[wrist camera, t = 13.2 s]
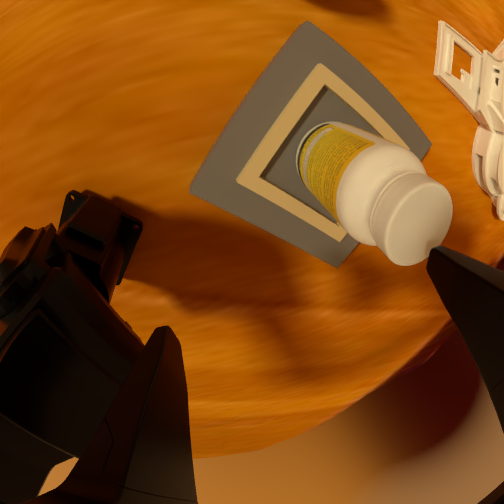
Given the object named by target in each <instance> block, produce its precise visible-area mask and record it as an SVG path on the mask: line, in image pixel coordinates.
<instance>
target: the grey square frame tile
mask: <svg viewBox="0 0 504 504" xmlns="http://www.w3.org/2000/svg"><path fill="white" fill-rule="evenodd" d="M331 121H334V122H342V123H345V124H348V125H351V126H354V127H357V128H359V129H362V130H364V131H367V132H370V133H372V134H375V135H377V136H380V137H382V138H384V139H387V140H389V141H391V142H394V143H396V144H398V145H401V146H403V147H404V148H406V149H408V150H410V151H411V152H412V153H414V154H415V155H416V156H417V158H418V159H419V160H420V161H421V160H422V158H423V157H424V155H425V154H426V152H427V151H428V149H429V148H430V146H431V145H432V143H431V142H430V141H429V139H428V138H427V137H426V135H425V134H424V133H423V131H422V130H421V129H420V127H419V126H418V125H417V124H416V122H415V121H414V120H413V119H412V117H411V116H410V115H409V114H408V112H407V111H406V110H405V109H404V108H403V107H402V105H401V104H400V103H399V102H398V101H397V100H396V99H395V98H394V96H393V95H392V94H391V93H390V92H389V91H388V90H387V89H386V88H385V87H384V86H383V85H382V84H381V83H380V82H379V81H378V80H377V79H376V78H375V77H374V76H373V75H372V74H371V73H370V72H369V71H368V70H367V69H366V68H365V67H364V66H363V65H362V64H361V63H360V62H359V61H358V60H357V59H355V58H354V57H353V56H352V55H351V54H350V53H349V52H347V51H346V50H345V49H344V48H343V47H342V46H340V45H339V44H338V43H337V42H336V41H334V40H333V39H332V38H331V37H329V36H328V35H327V34H325V33H324V32H323V31H321V30H320V29H319V28H317V27H316V26H315V25H313V24H312V23H311V22H309V21H306V22H304V23H302V24H301V25H300V26H299V27H298V28H297V29H296V30H295V32H294V33H293V34H292V35H291V36H290V38H289V39H288V40H287V41H286V43H285V44H284V45H283V46H282V48H281V49H280V50H279V51H278V53H277V54H276V55H275V57H274V58H273V59H272V61H271V62H270V63H269V65H268V66H267V67H266V69H265V70H264V71H263V73H262V74H261V75H260V77H259V78H258V79H257V81H256V82H255V84H254V85H253V86H252V88H251V89H250V91H249V92H248V94H247V95H246V96H245V98H244V99H243V101H242V102H241V104H240V105H239V107H238V108H237V110H236V111H235V113H234V114H233V116H232V117H231V119H230V120H229V122H228V123H227V125H226V126H225V128H224V130H223V131H222V133H221V134H220V136H219V137H218V139H217V141H216V142H215V144H214V145H213V147H212V149H211V150H210V152H209V154H208V155H207V157H206V159H205V160H204V162H203V164H202V165H201V167H200V169H199V171H198V172H197V174H196V176H195V177H194V179H193V181H192V183H191V184H190V190H189V193H191V194H193V195H195V196H197V197H199V198H201V199H203V200H205V201H207V202H209V203H211V204H213V205H215V206H217V207H219V208H221V209H223V210H225V211H227V212H229V213H231V214H233V215H235V216H237V217H239V218H241V219H243V220H245V221H247V222H249V223H251V224H253V225H255V226H257V227H259V228H261V229H263V230H265V231H267V232H269V233H271V234H273V235H275V236H277V237H279V238H281V239H283V240H285V241H287V242H288V243H290V244H292V245H294V246H296V247H298V248H300V249H302V250H304V251H306V252H308V253H310V254H311V255H313V256H315V257H317V258H319V259H321V260H323V261H325V262H327V263H328V264H330V265H332V266H334V267H336V268H338V267H339V266H340V265H341V264H342V262H343V261H344V260H345V259H346V258H347V257H348V255H349V254H350V253H351V252H352V251H353V249H354V248H355V247H356V246H357V245H358V243H359V241H357V240H355V239H354V238H353V237H351V236H350V235H349V234H348V233H347V232H346V231H345V230H344V229H343V228H342V227H341V225H340V224H339V223H338V222H337V221H336V220H335V218H334V217H333V216H332V215H331V214H330V213H329V212H328V210H327V209H326V208H325V207H324V206H323V205H322V204H321V203H320V202H319V201H318V199H317V198H316V197H315V196H314V195H313V194H312V193H311V192H310V191H309V190H308V188H307V187H306V186H305V185H304V184H303V182H302V181H301V179H300V177H299V174H298V172H297V167H296V153H297V149H298V146H299V144H300V142H301V140H302V138H303V137H304V136H305V134H306V133H307V132H308V131H309V130H311V129H312V128H314V127H315V126H317V125H319V124H321V123H325V122H331Z"/></svg>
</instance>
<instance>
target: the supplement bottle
mask: <svg viewBox="0 0 504 504" xmlns="http://www.w3.org/2000/svg"><path fill="white" fill-rule="evenodd" d="M296 167H297V172H298V174H299V177H300V179H301V181H302V182H303V184H304V185H305V186H306V187H307V188H308V190H309V191H310V192H311V193H312V194H313V195H314V196H315V197H316V198H317V199H318V201H319V202H320V203H321V204H322V205H323V206H324V207H325V208H326V209H327V210H328V212H329V213H330V214H331V215H332V216H333V217H334V218H335V220H336V221H337V222H338V223H339V224H340V225H341V227H342V228H343V229H344V230H345V231H346V232H347V233H348V234H349V235H350V236H351V237H353V238H354V239H355V240H357V241H359V242H361V243H363V244H366V245H371V246H378V247H379V249H381V250H382V251H383V252H384V254H385V255H386V256H387V257H388V258H389V259H390V260H391V261H392V262H393V263H395V264H397V265H401V266H409V265H414V264H417V263H419V262H421V261H423V260H424V259H426V258H427V257H429V252H430V250H431V248H433V247H436V246H439V245H440V244H441V243H442V241H443V240H444V238H445V236H446V234H447V232H448V230H449V227H450V224H451V220H452V214H453V204H452V199H451V196H450V194H449V192H448V191H447V189H446V188H445V187H444V186H443V185H441V184H440V183H438V182H437V181H435V180H433V179H432V178H430V177H429V176H427V175H426V171H425V169H424V167H423V165H422V163H421V161H420V160H419V159H418V158H417V156H416V155H415V154H414V153H412V152H411V151H410V150H408V149H406V148H404V147H403V146H401V145H398V144H396V143H394V142H391V141H389V140H387V139H384V138H382V137H380V136H377V135H375V134H372V133H370V132H367V131H364V130H362V129H359V128H357V127H354V126H351V125H348V124H345V123H342V122H334V121H331V122H325V123H321V124H319V125H317V126H315V127H314V128H312V129H311V130H309V131H308V132H307V133H306V134H305V136H304V137H303V138H302V140H301V142H300V144H299V146H298V149H297V153H296Z"/></svg>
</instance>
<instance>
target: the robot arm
mask: <svg viewBox="0 0 504 504" xmlns="http://www.w3.org/2000/svg"><path fill="white" fill-rule="evenodd" d="M71 195H72V196H74V200H73V199H72V198H71ZM134 225H138V226H139V228H135V227H134ZM142 229H143V223H142V221H140V220H139V219H136V218H134V217H132V216H130V215H127V214H125V213H123V212H121V210H120V209H118V208H116V207H114V206H112V205H110V204H107V203H105V202H103V201H101V200H99V199H97V198H94V197H88V196H86V195H84V194H82V193H79V192H77V191H75V190H71V191H70V192H69V193H68V194H67V195H66V198H65V202H64V206H63V210H62V215H61V219H60V224H59V228H58V231H57V230H56V229H55V227H54V226H53V224H52V223H50V224H49V225H47V226H46V227H42V228H40V229H38V230H37V229H35V230H34V229H31V228H28V227H26V226H25V227H24V228H23V229H21V230H20V231H19V232H18V233H17V235H16V236H15V237H14V238H13V239H12V240H11V241H10V243H9V244H8V245H7V246H6V248H5V249H4V251H3V253H2V255H1V257H0V504H198V502H197V495H196V487H195V479H194V471H193V460H192V450H191V438H190V425H189V409H188V392H187V383H186V377H185V371H184V364H183V357H182V350H181V345H180V342H179V340H178V338H177V337H176V335H175V334H174V332H173V331H172V329H171V328H170V327H169V326H161V327H157V328H156V329H155V330H154V332H153V333H152V335H151V337H150V338H149V340H148V342H147V343H146V345H145V346H144V344H143V343H142V341H141V339H140V338H139V337H138V336H137V334H136V333H135V332H134V331H133V330H132V328H131V326H130V325H129V324H128V323H127V322H125V321H124V320H123V319H122V318H121V317H120V316H119V315H118V314H117V312H116V311H115V310H114V309H113V308H112V307H111V305H110V301H111V298H112V295H113V292H114V289H115V285H119V284H120V283H121V281H122V278H123V275H124V273H125V270H126V268H127V265H128V263H129V260H130V258H131V255H132V253H133V250H134V248H135V246H136V243H137V241H138V239H139V236H140V234H141V232H142ZM56 231H57V232H56ZM426 268H427V272H428V274H429V276H430V278H431V280H432V282H433V284H434V286H435V288H436V290H437V292H438V294H439V296H440V298H441V300H442V302H443V304H444V306H445V307H446V309H447V311H448V313H449V314H450V316H451V318H452V319H453V321H454V323H455V325H456V326H457V328H458V330H459V332H460V334H461V335H462V337H463V339H464V341H465V343H466V345H467V347H468V348H469V351H470V353H471V355H472V357H473V359H474V361H475V363H476V365H477V367H478V369H479V371H480V373H481V376H482V378H483V380H484V382H485V384H486V387H487V389H488V392H489V395H490V397H491V400H492V402H493V404H494V407H495V410H496V413H497V415H498V418H499V421H500V424H501V427H502V430H503V433H504V272H503V271H500V270H498V269H496V268H494V267H492V266H489V265H487V264H485V263H482V262H480V261H478V260H476V259H473V258H471V257H468V256H466V255H464V254H461V253H459V252H456V251H454V250H451V249H449V248H446V247H444V246H441V245H439V246H436V247H433V248H431V250H430V252H429V257H428V261H427V266H426ZM73 457H76V458H78V459H79V460H78V461H77V463H76V464H75V466H74V468H73V469H72V471H71V472H70V474H69V475H68V477H67V478H66V480H65V481H64V482H63V483H62V484H61V485H59V486H58V487H57V488H56V489H53V490H51V491H49V492H47V493H45V494H42V495H40V496H38V495H39V493H40V491H41V489H42V487H43V485H44V483H45V481H46V479H47V477H48V475H49V473H50V471H51V470H52V469H53V467H54V466H55V465H57V464H59V463H62V462H64V461H66V460H68V459H71V458H73ZM478 504H504V481H503V482H502V483H501V484H500V485H499V486H498V487H497V488H496V489H495V490H493V491H492V492H491V493H490V494H489V495H488V496H486V497H485V498H484V499H483V500H481V501H480V502H479V503H478Z"/></svg>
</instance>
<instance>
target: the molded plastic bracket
mask: <svg viewBox="0 0 504 504" xmlns="http://www.w3.org/2000/svg"><path fill="white" fill-rule="evenodd" d="M454 43H455V44H457V45H458V46H459V47H460V48H462V49H463V50H464V51H465V52H467V53H468V54H469V55H470V56H471V57H472V61H471V72H470V74H468V73H467V72H466V71H465V70H463V69H461V70H460V72H461V81H460V80H459V79H457V78H456V77H455V76H453V75H452V74H451V70H452V61H453V50H454ZM434 76H435V77H436V78H437V79H438V80H439V81H440V82H442V83H443V84H444V85H445V86H446V87H447V88H448V89H449V90H450V91H451V92H452V93H453V94H454V95H455V96H456V98H457V99H458V100H459V101H460V102H461V103H462V104H463V105H464V106H465V107H466V108H467V109H468V111H469V112H470V113H471V114H472V115H473V116H474V118H475V119H476V120H477V121H478V122H479V126H478V128H477V131H476V134H475V138H474V143H473V149H472V169H473V174H474V178H475V180H476V182H477V184H478V185H479V186H480V187H481V188H482V189H483V190H484V191H485V192H486V193H487V194H488V195H489V196H490V198H491V200H492V203H493V205H494V206H495V207H496V208H497V215H498V217H499V219H501V220H502V221H504V39H503V41H502V42H501V43H500V44H499V46H498V47H497V48H496V50H495V51H494V52H493V53H492V54H491V53H490V52H489V51H487V50H484V54H482V53H481V52H480V51H479V50H478V49H477V48H476V47H475V46H474V45H473V44H471V43H470V42H469V41H468V40H467V39H466V38H464V37H463V36H462V35H461V34H460V33H458V32H457V31H456V30H455V29H453V28H452V27H451V26H450V25H448V24H447V23H446V22H443V21H438V38H437V50H436V59H435V68H434Z"/></svg>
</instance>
